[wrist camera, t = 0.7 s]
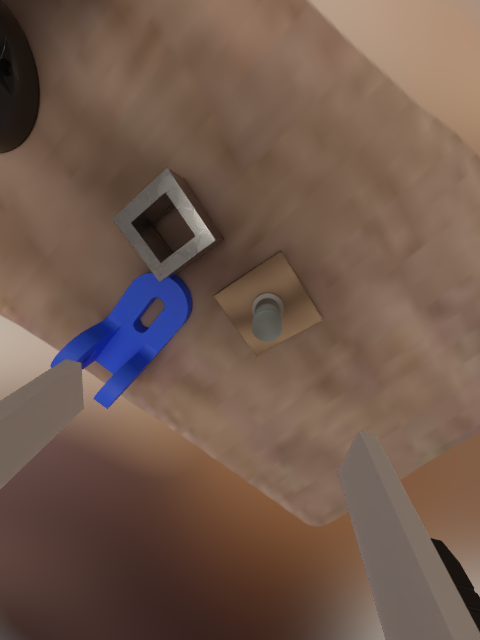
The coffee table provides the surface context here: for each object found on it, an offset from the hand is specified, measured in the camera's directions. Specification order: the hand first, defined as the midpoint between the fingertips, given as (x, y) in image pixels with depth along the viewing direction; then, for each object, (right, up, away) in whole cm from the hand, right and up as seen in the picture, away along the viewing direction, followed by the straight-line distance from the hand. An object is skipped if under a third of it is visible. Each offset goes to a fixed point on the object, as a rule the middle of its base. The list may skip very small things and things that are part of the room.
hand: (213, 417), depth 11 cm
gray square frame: (-6, +16, +18) cm, 25 cm away
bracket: (-13, +4, +24) cm, 27 cm away
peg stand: (+5, +7, +20) cm, 22 cm away
